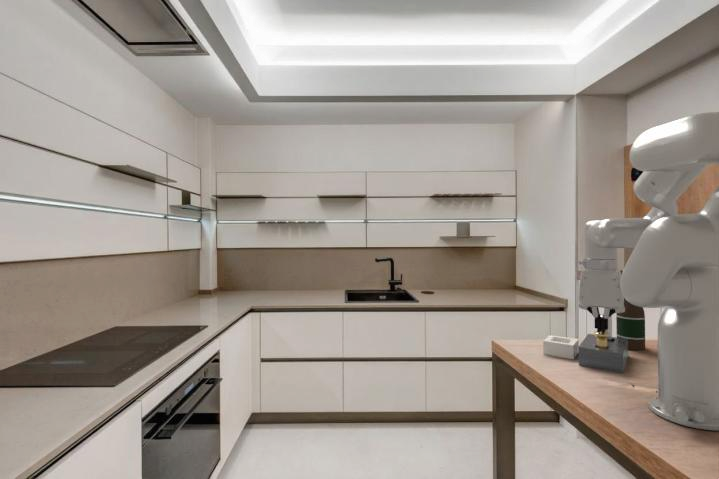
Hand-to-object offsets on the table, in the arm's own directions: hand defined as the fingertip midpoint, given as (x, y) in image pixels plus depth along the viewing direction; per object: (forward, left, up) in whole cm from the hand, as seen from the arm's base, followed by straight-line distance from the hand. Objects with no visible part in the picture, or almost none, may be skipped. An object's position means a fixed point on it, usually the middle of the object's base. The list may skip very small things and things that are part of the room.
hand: (601, 331), depth 102 cm
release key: (0, 0, -7) cm, 7 cm away
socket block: (+4, 0, -10) cm, 11 cm away
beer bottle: (+23, -5, -10) cm, 26 cm away
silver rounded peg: (+9, 0, -9) cm, 13 cm away
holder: (+4, +11, -10) cm, 16 cm away
